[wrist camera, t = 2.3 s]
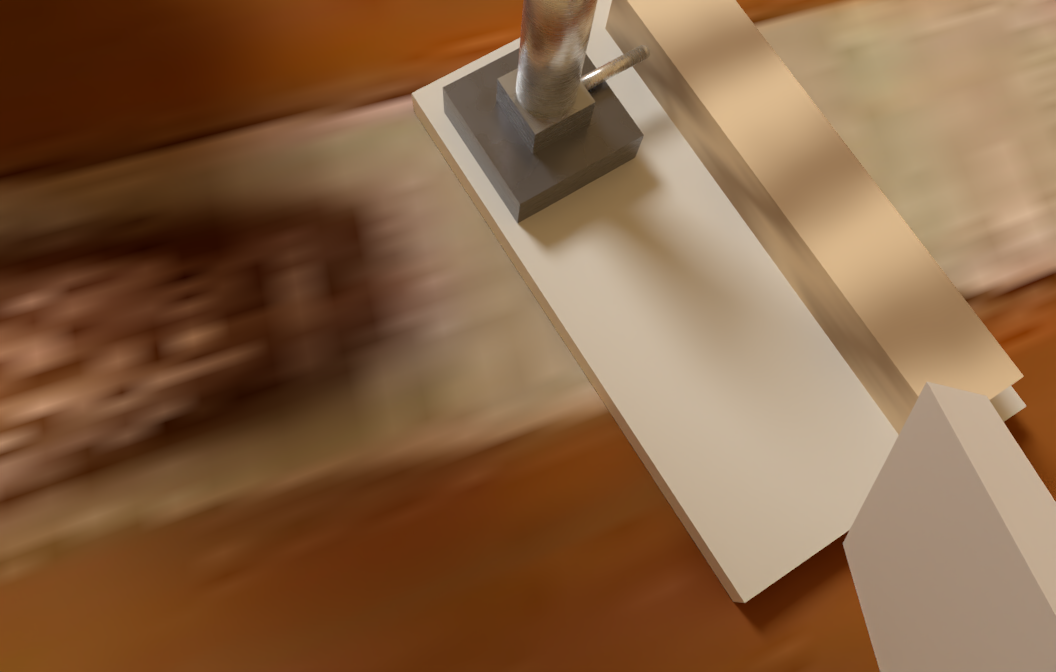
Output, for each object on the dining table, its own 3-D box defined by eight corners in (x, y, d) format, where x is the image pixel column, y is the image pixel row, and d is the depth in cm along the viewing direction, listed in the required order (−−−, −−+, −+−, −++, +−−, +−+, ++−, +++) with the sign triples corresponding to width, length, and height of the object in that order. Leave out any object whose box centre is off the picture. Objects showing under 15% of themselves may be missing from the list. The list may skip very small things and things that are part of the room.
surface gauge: (444, 112, 37) (429, -120, 25) (600, 30, 39) (661, -226, 26) (517, 223, 36) (541, 39, 24) (675, 135, 38) (776, -82, 25)
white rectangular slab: (413, 111, 39) (411, 93, 37) (675, -25, 42) (682, -46, 40) (733, 601, 34) (744, 602, 33) (1004, 412, 37) (1026, 406, 35)
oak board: (605, 28, 39) (615, -15, 36) (677, -10, 40) (693, -55, 37) (904, 443, 35) (944, 431, 32) (978, 392, 35) (1023, 376, 33)
